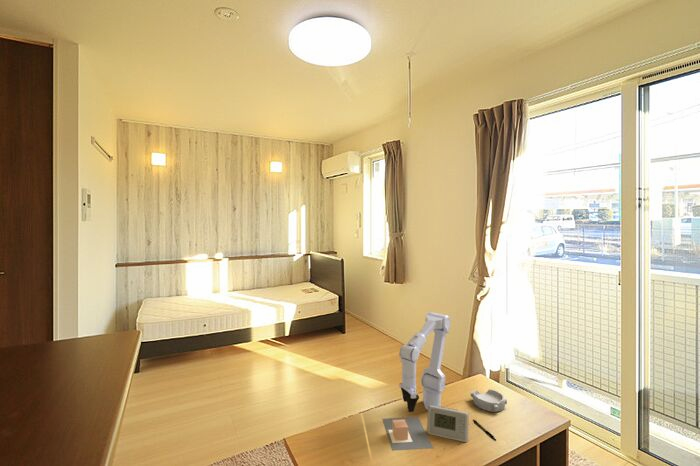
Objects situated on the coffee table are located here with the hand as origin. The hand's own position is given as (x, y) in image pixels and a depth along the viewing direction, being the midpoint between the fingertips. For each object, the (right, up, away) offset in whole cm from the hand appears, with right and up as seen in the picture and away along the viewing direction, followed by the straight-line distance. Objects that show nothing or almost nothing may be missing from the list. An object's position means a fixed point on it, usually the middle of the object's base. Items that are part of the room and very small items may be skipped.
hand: (408, 406), depth 138 cm
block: (-4, -9, -6) cm, 12 cm away
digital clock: (+15, -10, -5) cm, 19 cm away
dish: (+42, -9, +18) cm, 46 cm away
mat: (-2, -10, -4) cm, 10 cm away
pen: (+31, -10, -1) cm, 33 cm away
